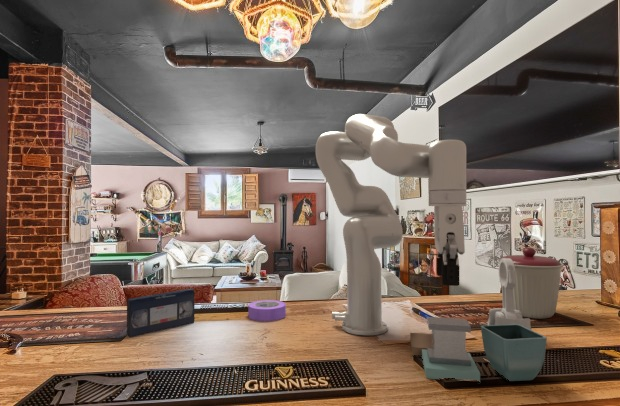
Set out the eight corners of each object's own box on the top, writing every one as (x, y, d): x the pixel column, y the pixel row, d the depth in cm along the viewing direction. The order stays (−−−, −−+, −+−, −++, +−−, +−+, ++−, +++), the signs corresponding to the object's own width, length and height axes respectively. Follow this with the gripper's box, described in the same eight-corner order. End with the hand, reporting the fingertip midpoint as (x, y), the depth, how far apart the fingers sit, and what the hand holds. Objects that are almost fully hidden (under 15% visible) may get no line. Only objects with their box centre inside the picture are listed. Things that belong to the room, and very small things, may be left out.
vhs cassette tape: (129, 338, 98) (129, 300, 98) (125, 335, 100) (125, 298, 100) (195, 323, 110) (195, 289, 110) (191, 321, 112) (191, 288, 112)
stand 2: (426, 378, 74) (425, 368, 74) (421, 358, 83) (421, 349, 83) (480, 382, 72) (480, 372, 72) (469, 361, 81) (469, 352, 81)
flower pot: (479, 367, 79) (479, 324, 79) (519, 365, 79) (518, 323, 79) (504, 387, 70) (504, 339, 70) (549, 385, 71) (548, 337, 71)
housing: (466, 356, 79) (465, 318, 79) (471, 366, 74) (470, 326, 74) (427, 353, 81) (426, 316, 81) (429, 363, 76) (429, 323, 76)
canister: (489, 305, 127) (488, 244, 127) (546, 307, 125) (545, 244, 125) (510, 322, 109) (509, 250, 109) (577, 324, 107) (576, 251, 107)
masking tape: (266, 309, 126) (266, 297, 126) (293, 314, 119) (293, 302, 119) (240, 317, 116) (240, 305, 116) (268, 324, 109) (268, 311, 109)
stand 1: (412, 355, 85) (412, 347, 85) (410, 340, 95) (410, 332, 95) (458, 359, 83) (458, 350, 83) (451, 343, 92) (451, 335, 93)
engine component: (493, 344, 92) (538, 346, 90) (492, 261, 92) (537, 262, 90) (482, 329, 102) (522, 332, 100) (481, 255, 103) (521, 256, 101)
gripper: (474, 198, 69) (474, 290, 69) (459, 199, 86) (459, 273, 86) (432, 198, 71) (432, 288, 71) (425, 199, 88) (425, 272, 88)
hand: (447, 280), depth 79 cm, fingers open, 9 cm apart
